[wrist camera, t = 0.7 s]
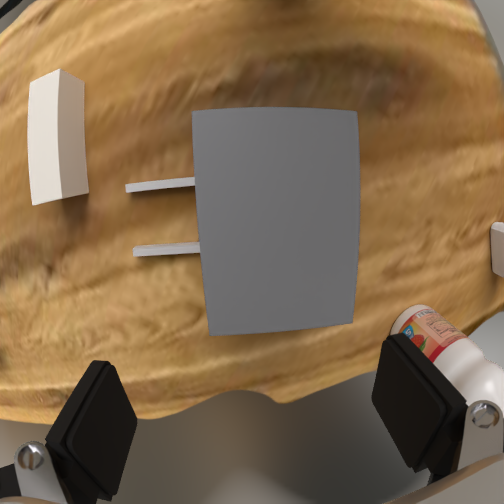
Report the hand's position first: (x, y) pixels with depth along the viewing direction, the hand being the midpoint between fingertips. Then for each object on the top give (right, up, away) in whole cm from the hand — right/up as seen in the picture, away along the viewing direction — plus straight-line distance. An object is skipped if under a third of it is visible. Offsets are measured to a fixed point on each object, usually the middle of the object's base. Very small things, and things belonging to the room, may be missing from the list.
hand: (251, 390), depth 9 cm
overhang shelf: (-3, +9, +26) cm, 28 cm away
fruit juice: (+27, -8, +33) cm, 43 cm away
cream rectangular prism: (-25, +20, +22) cm, 38 cm away
